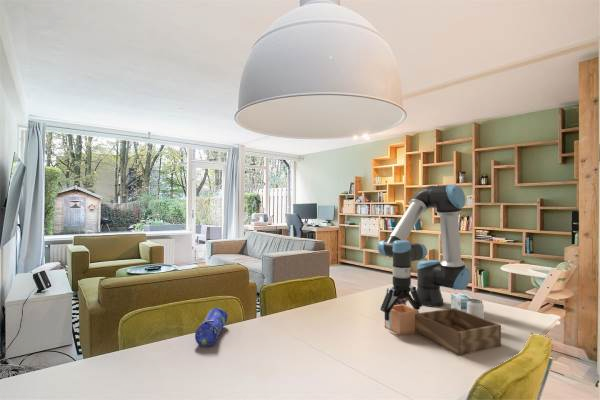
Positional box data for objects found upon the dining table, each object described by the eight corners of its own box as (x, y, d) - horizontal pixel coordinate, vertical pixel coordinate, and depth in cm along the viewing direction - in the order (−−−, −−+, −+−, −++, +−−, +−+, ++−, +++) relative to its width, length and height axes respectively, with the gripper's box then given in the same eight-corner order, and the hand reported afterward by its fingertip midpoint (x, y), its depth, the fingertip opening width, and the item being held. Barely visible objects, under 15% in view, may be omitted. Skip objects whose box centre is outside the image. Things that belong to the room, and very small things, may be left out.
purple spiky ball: (379, 308, 168) (379, 285, 168) (397, 305, 173) (397, 283, 173) (395, 315, 158) (395, 290, 158) (413, 311, 163) (413, 288, 163)
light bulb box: (475, 322, 149) (475, 299, 149) (460, 322, 149) (460, 298, 149) (464, 314, 160) (464, 292, 160) (450, 314, 160) (450, 292, 160)
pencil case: (216, 348, 120) (216, 323, 120) (193, 349, 120) (193, 323, 120) (227, 326, 142) (228, 304, 142) (208, 326, 142) (208, 304, 142)
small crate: (403, 324, 146) (403, 304, 146) (418, 332, 137) (418, 310, 137) (384, 327, 142) (384, 306, 142) (399, 335, 133) (399, 313, 133)
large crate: (454, 325, 144) (454, 307, 144) (500, 346, 124) (500, 325, 124) (415, 332, 136) (415, 313, 136) (458, 355, 116) (458, 333, 116)
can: (466, 328, 141) (466, 301, 141) (466, 324, 147) (466, 297, 147) (483, 331, 138) (483, 303, 138) (483, 326, 144) (483, 299, 144)
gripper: (383, 280, 132) (382, 332, 131) (430, 275, 141) (430, 324, 141) (372, 276, 139) (372, 326, 138) (418, 272, 148) (418, 318, 148)
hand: (401, 325), depth 139 cm, fingers open, 13 cm apart
